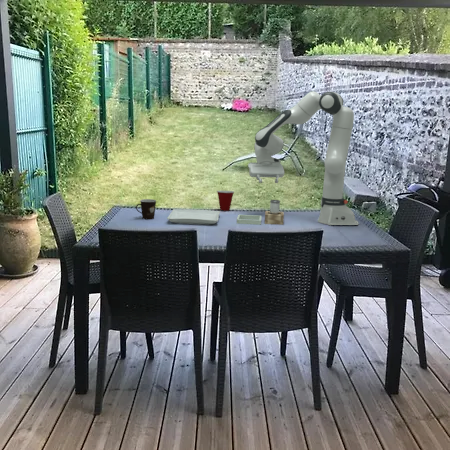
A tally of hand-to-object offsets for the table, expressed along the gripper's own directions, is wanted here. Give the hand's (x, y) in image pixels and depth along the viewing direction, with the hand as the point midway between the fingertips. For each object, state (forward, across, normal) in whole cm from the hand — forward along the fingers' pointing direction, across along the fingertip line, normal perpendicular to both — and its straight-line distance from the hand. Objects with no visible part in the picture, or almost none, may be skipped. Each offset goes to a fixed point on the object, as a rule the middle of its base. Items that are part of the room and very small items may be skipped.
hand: (268, 182), depth 286 cm
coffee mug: (+11, -68, +20) cm, 72 cm away
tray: (+22, -13, +8) cm, 27 cm away
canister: (+23, 0, +5) cm, 24 cm away
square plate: (+15, -41, +16) cm, 47 cm away
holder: (+24, 0, +6) cm, 25 cm away
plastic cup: (-4, -18, +35) cm, 39 cm away
